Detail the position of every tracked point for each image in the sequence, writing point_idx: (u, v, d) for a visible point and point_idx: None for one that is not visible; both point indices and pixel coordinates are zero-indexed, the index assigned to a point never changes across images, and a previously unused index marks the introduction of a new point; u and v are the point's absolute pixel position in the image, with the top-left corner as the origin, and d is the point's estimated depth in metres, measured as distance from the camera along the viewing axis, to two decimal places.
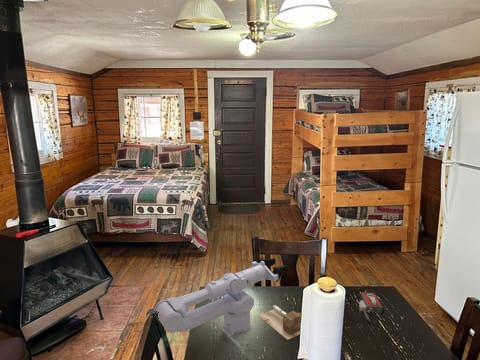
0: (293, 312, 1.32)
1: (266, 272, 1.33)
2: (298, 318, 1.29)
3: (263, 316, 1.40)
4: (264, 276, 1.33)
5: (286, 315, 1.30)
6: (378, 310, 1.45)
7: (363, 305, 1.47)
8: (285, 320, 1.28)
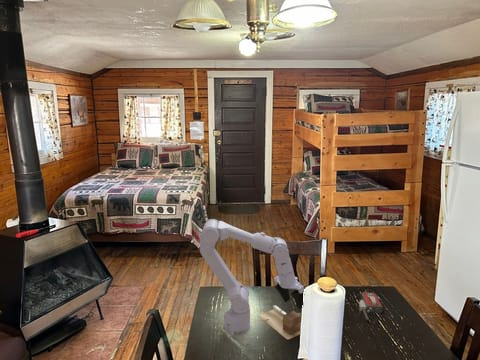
0: (293, 312, 1.32)
1: (294, 282, 1.28)
2: (298, 318, 1.29)
3: (263, 316, 1.40)
4: (291, 281, 1.27)
5: (286, 315, 1.30)
6: (378, 310, 1.45)
7: (363, 305, 1.47)
8: (285, 320, 1.28)
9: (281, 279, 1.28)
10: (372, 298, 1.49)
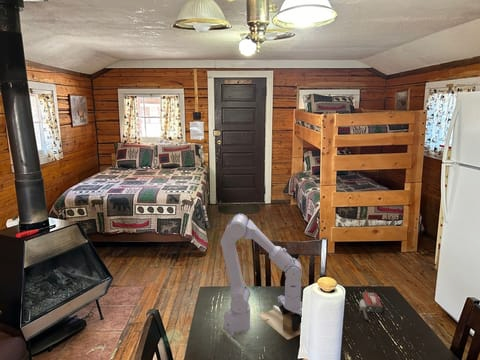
0: (293, 312, 1.32)
1: (299, 307, 1.28)
2: None
3: (263, 316, 1.40)
4: (296, 305, 1.27)
5: (286, 315, 1.30)
6: (378, 310, 1.45)
7: (363, 304, 1.48)
8: (285, 320, 1.28)
9: (287, 300, 1.27)
10: (372, 298, 1.49)
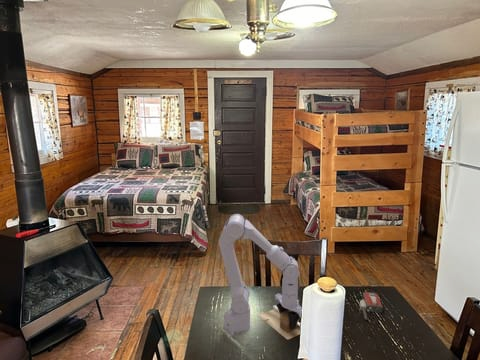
0: (290, 310, 1.33)
1: (296, 305, 1.29)
2: None
3: (263, 316, 1.40)
4: (293, 303, 1.28)
5: (283, 313, 1.31)
6: (378, 310, 1.45)
7: (363, 304, 1.48)
8: (282, 318, 1.29)
9: (284, 298, 1.28)
10: (373, 298, 1.49)
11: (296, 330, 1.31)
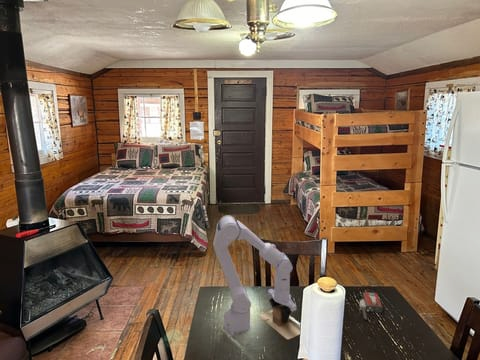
0: (282, 305, 1.37)
1: (288, 299, 1.32)
2: None
3: (263, 316, 1.40)
4: (285, 298, 1.32)
5: (276, 307, 1.35)
6: (377, 310, 1.45)
7: (363, 304, 1.48)
8: (274, 312, 1.33)
9: (276, 293, 1.32)
10: (372, 298, 1.49)
11: (296, 330, 1.31)
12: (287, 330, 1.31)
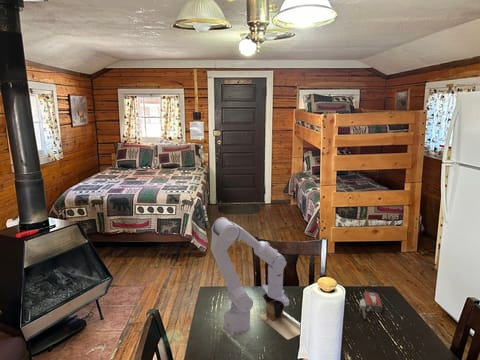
0: (276, 300, 1.40)
1: (281, 295, 1.36)
2: None
3: (263, 316, 1.40)
4: (278, 293, 1.35)
5: (269, 303, 1.38)
6: (377, 309, 1.45)
7: (363, 303, 1.48)
8: (268, 307, 1.36)
9: (270, 289, 1.35)
10: (373, 298, 1.49)
11: (296, 330, 1.31)
12: (287, 330, 1.31)
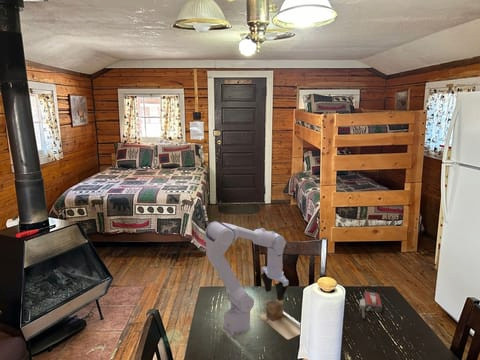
0: (276, 300, 1.40)
1: (280, 275, 1.37)
2: (280, 305, 1.38)
3: (263, 316, 1.40)
4: (277, 274, 1.36)
5: (269, 303, 1.38)
6: (377, 309, 1.45)
7: (363, 303, 1.49)
8: (268, 307, 1.36)
9: (269, 269, 1.36)
10: (373, 297, 1.49)
11: (296, 330, 1.31)
12: (287, 330, 1.31)
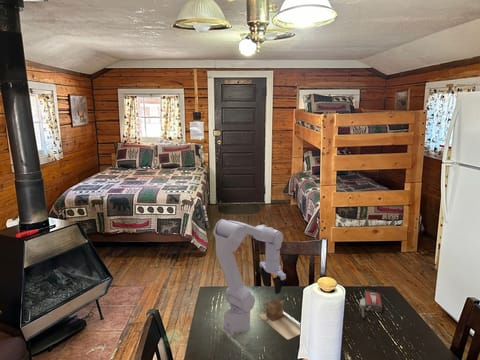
0: (276, 300, 1.40)
1: (278, 270, 1.42)
2: (280, 305, 1.38)
3: (263, 316, 1.40)
4: (275, 268, 1.41)
5: (269, 303, 1.38)
6: (377, 309, 1.45)
7: (363, 303, 1.49)
8: (268, 307, 1.36)
9: (267, 264, 1.41)
10: (373, 297, 1.49)
11: (296, 330, 1.31)
12: (287, 330, 1.31)
